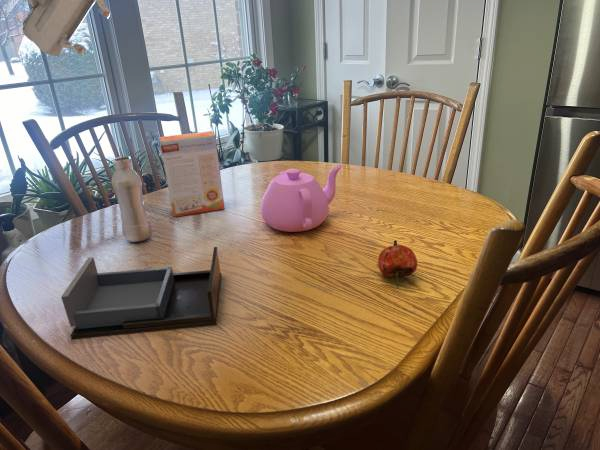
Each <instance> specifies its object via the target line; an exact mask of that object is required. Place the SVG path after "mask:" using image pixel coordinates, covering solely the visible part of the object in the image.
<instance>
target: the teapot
mask: <svg viewBox="0 0 600 450" xmlns="http://www.w3.org/2000/svg"><path fill="white" fill-rule="evenodd" d="M343 167H344V164H339V165H336V166H334V167H333V168H331V169H330V171H329V173H328V176H327V183H326V185H325V187H324V188H322V185H320V183H319V182H318V181H317V179H316V178H315V177H314V176H313V175H312V174H310V173H306V172H301V170H300V169H299V168H289V169H287V170H282V171H280V172H278V175H276V176H274V177H273V179H272V180H271V181H270V182H269V185H268V187H267V188H266V190H265V192H264V194H263V197H262V200H261V204H260V205H261V206H260V215H261V218H262V220H263V221H264V222H265V223H266V224H267V225H268V226H269V227H271V228H272V229H275V230H277V231H280V232H288V233H295V232H296V233H297V232H298V233H299V232H305V231H309V230H313V229H316V228H317V227H319V226H320V225H322V223H323V222H325V220H326V219H327V218H328V215H329V213H330V207H329V205H330V204H331V203H332V202H333V200H334V198H335V195H336V191H337V190H336V189H337V187H336V179H337V175H338V173H339V171H340V170H341V169H342V168H343Z"/></svg>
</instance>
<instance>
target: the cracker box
mask: <svg viewBox="0 0 600 450" xmlns="http://www.w3.org/2000/svg"><path fill="white" fill-rule="evenodd" d="M216 138H217V137H216V134H215V133H214V131H213V130H209V131H202V132H201V131H200V132H193V133H192V132H191V133H183V134H174V135H166V136H159V145H160V150H161V155H162V161H163V167H164V172H165V173H164V174H165V178H166V179H165V180H166V184H167V191H168V193H169V194H168V195H169V201H170V205H171V211H172V215H173V218H176V217H182V216H189V215H196V214H201V213H207V212H213V211H220V210H224V209H225V199H224V192H223V185H222V177H221V170H220V169H221V168H220V161H219V156H218V155H219V154H218V146H217V139H216Z"/></svg>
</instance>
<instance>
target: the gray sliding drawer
mask: <svg viewBox="0 0 600 450" xmlns="http://www.w3.org/2000/svg"><path fill="white" fill-rule="evenodd" d="M173 273H174V271H173V267H172V266H167V267H153V268H143V269H142V268H141V269H130V270H119V271H118V270H117V271H105V272H98V269H97V265H96V261H95V258H94V256H93V257H91V256H90V257H87V258H86V260H85V261H84V262H83V265H81V267H80V269H79V270H78V272H77V273H76V274H75V276H74V278H72V280H71V282H70V283H69V284H68V286H67V288H66V289H65V290H64V292H63V294H62V295H61V296H60V298H61V301H62V304H63V308H64V310H65V313H66V317H67V320H68V323H69V326H70V328H72V327H74V328H75V327H76V326H77V328H78V329H84V328H94V327H105V326H115V325H123V323H124V322H127V321H137V320H148V319H159V318H164V314H165V311H166V308H167V304H168V301H169V297H170V294H171V290H172V287H173V283H174V275H173ZM99 286H100V287H99ZM96 291H97V292H96ZM95 293H96V294H95ZM92 298H93V299H92ZM91 300H92V301H91ZM90 302H91V303H90ZM88 305H89V306H88ZM87 307H88V308H87ZM86 309H87V310H86Z"/></svg>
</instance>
